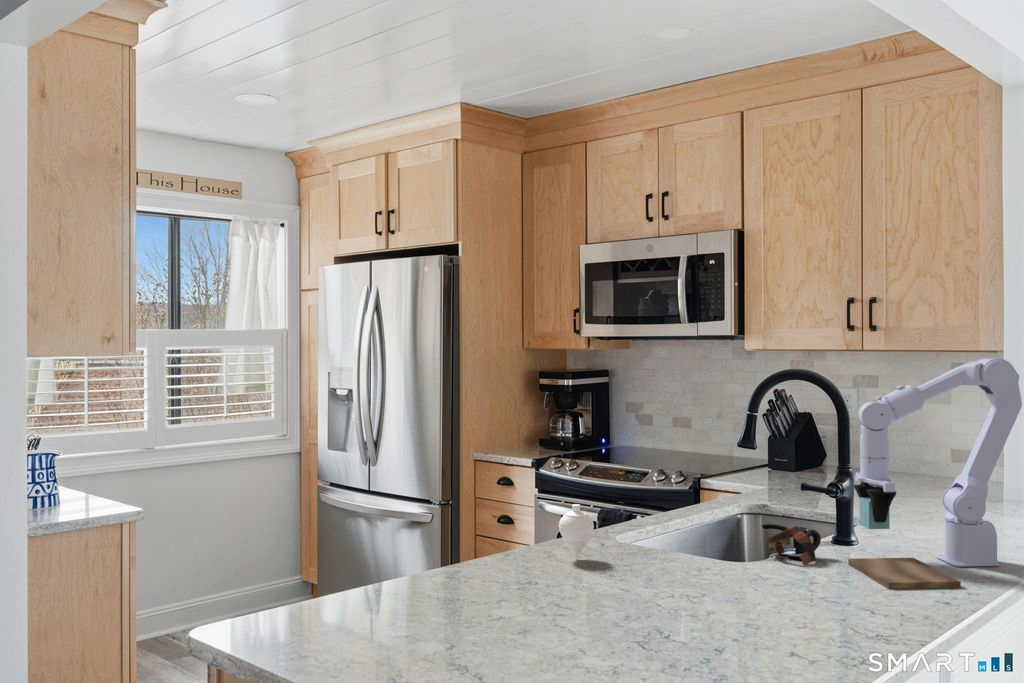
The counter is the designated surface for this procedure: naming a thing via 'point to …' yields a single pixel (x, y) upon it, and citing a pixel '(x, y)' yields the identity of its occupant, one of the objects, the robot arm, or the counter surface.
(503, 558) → the counter surface
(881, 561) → the walnut board
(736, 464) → the counter surface
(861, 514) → the teal block
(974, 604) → the counter surface
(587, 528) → the spinning top
